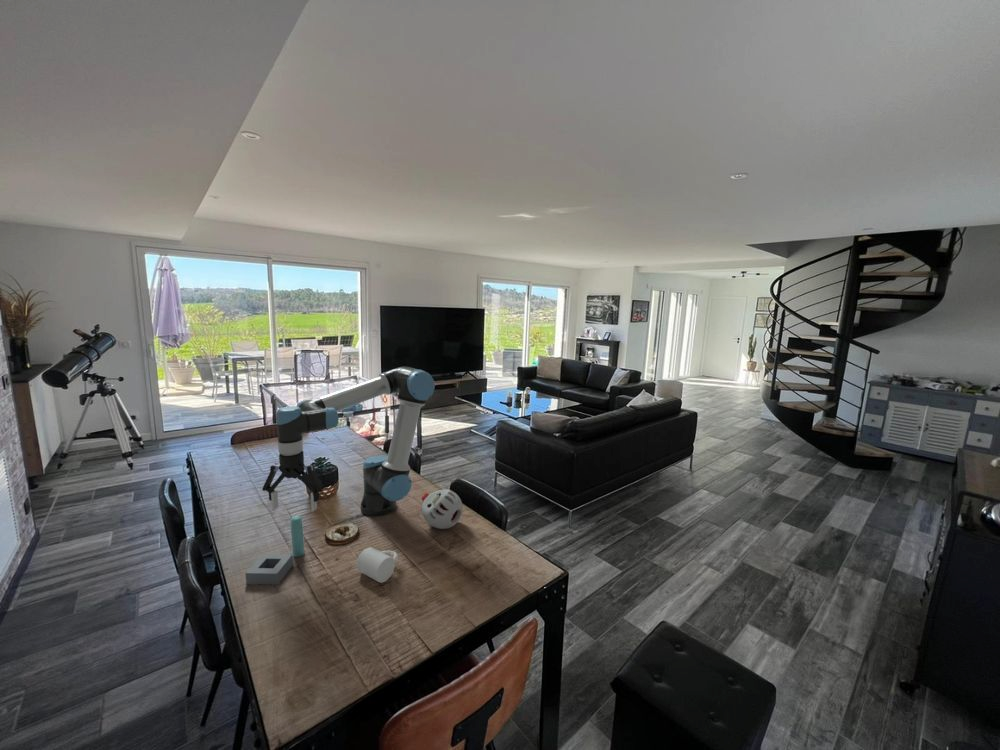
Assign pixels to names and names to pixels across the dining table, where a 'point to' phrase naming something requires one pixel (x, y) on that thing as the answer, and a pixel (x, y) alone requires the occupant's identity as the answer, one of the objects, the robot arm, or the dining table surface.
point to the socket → (269, 569)
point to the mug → (376, 564)
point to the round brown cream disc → (341, 533)
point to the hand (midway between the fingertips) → (294, 509)
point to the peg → (297, 536)
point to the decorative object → (442, 508)
